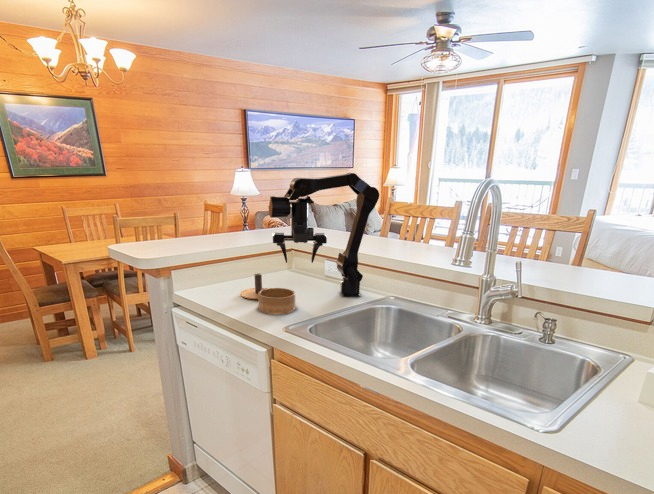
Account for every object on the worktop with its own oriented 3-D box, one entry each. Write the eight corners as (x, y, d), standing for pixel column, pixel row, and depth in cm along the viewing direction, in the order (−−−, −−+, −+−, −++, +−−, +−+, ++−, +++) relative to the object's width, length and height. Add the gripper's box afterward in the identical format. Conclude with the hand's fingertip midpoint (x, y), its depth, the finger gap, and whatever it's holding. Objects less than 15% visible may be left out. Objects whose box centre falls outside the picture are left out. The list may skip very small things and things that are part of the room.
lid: (275, 290, 170) (275, 269, 167) (277, 300, 158) (277, 278, 155) (241, 290, 169) (239, 270, 165) (240, 301, 157) (239, 279, 153)
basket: (282, 300, 158) (282, 286, 156) (302, 310, 149) (302, 294, 147) (252, 306, 151) (251, 291, 149) (270, 316, 142) (270, 300, 140)
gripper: (272, 220, 142) (273, 267, 149) (329, 220, 144) (327, 267, 151) (272, 215, 152) (273, 260, 159) (325, 216, 154) (324, 260, 161)
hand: (299, 262), depth 157 cm, fingers open, 9 cm apart
